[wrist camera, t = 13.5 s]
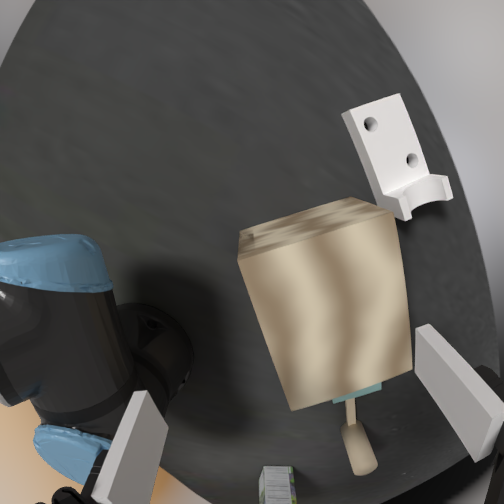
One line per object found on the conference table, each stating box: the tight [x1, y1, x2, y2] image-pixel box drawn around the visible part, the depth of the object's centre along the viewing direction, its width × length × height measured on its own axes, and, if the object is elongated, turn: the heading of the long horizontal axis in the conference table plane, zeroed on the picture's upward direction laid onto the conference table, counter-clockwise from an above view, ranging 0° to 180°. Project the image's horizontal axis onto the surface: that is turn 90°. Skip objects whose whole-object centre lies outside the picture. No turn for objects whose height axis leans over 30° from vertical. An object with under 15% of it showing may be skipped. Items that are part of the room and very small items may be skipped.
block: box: [332, 382, 381, 476], centre depth 41 cm, size 7×22×10 cm, turn 13°
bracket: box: [341, 93, 453, 221], centre depth 33 cm, size 13×7×8 cm, turn 24°
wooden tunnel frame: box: [237, 197, 412, 411], centre depth 35 cm, size 14×18×12 cm
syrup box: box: [259, 466, 297, 504], centre depth 45 cm, size 6×6×14 cm
